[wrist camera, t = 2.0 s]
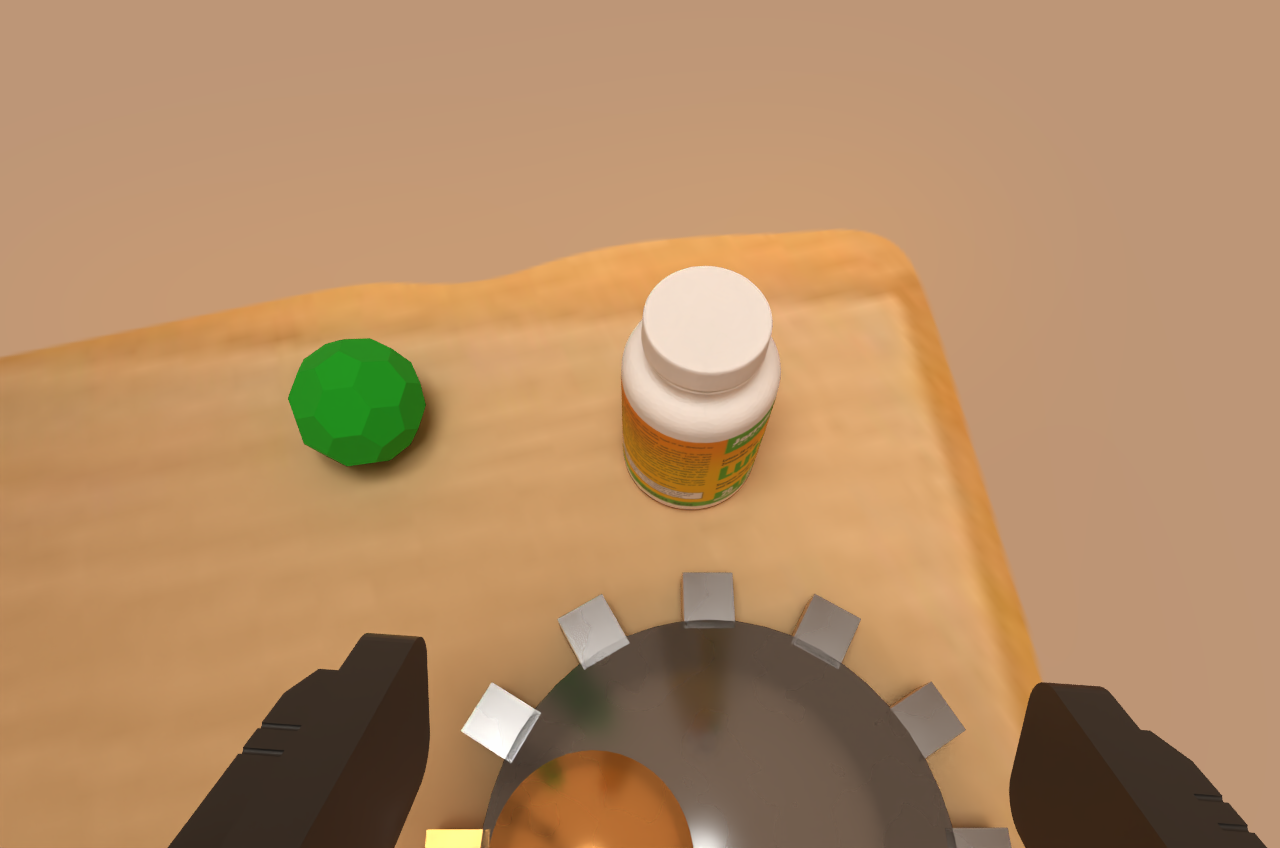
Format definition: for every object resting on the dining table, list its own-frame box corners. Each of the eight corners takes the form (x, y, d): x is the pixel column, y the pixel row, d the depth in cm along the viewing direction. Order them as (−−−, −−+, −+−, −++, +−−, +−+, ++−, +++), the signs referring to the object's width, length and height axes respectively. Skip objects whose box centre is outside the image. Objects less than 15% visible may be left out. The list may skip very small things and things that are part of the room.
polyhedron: (290, 452, 33) (239, 396, 28) (361, 361, 35) (323, 296, 30) (391, 504, 32) (354, 455, 27) (458, 407, 34) (433, 347, 29)
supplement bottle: (724, 534, 31) (760, 421, 23) (600, 481, 32) (589, 354, 24) (772, 422, 34) (821, 281, 25) (654, 376, 34) (662, 224, 26)
